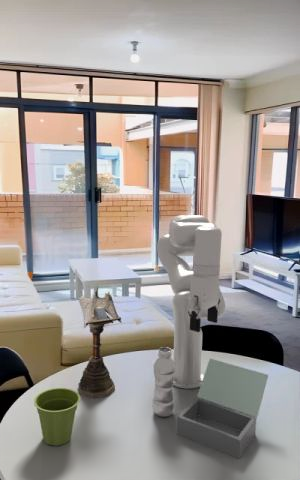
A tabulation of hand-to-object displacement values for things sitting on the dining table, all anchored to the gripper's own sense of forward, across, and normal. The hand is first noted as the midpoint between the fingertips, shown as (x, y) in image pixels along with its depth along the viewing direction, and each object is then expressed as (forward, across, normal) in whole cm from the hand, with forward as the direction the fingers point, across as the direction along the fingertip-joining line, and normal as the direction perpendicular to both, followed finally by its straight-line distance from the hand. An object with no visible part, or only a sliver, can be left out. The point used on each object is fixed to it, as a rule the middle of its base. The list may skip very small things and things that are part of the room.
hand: (203, 326), depth 123 cm
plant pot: (+26, +38, -21) cm, 50 cm away
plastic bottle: (+26, +10, -7) cm, 29 cm away
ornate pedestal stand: (+26, +13, -29) cm, 42 cm away
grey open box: (+26, +8, +10) cm, 29 cm away
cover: (+16, -1, +9) cm, 19 cm away
